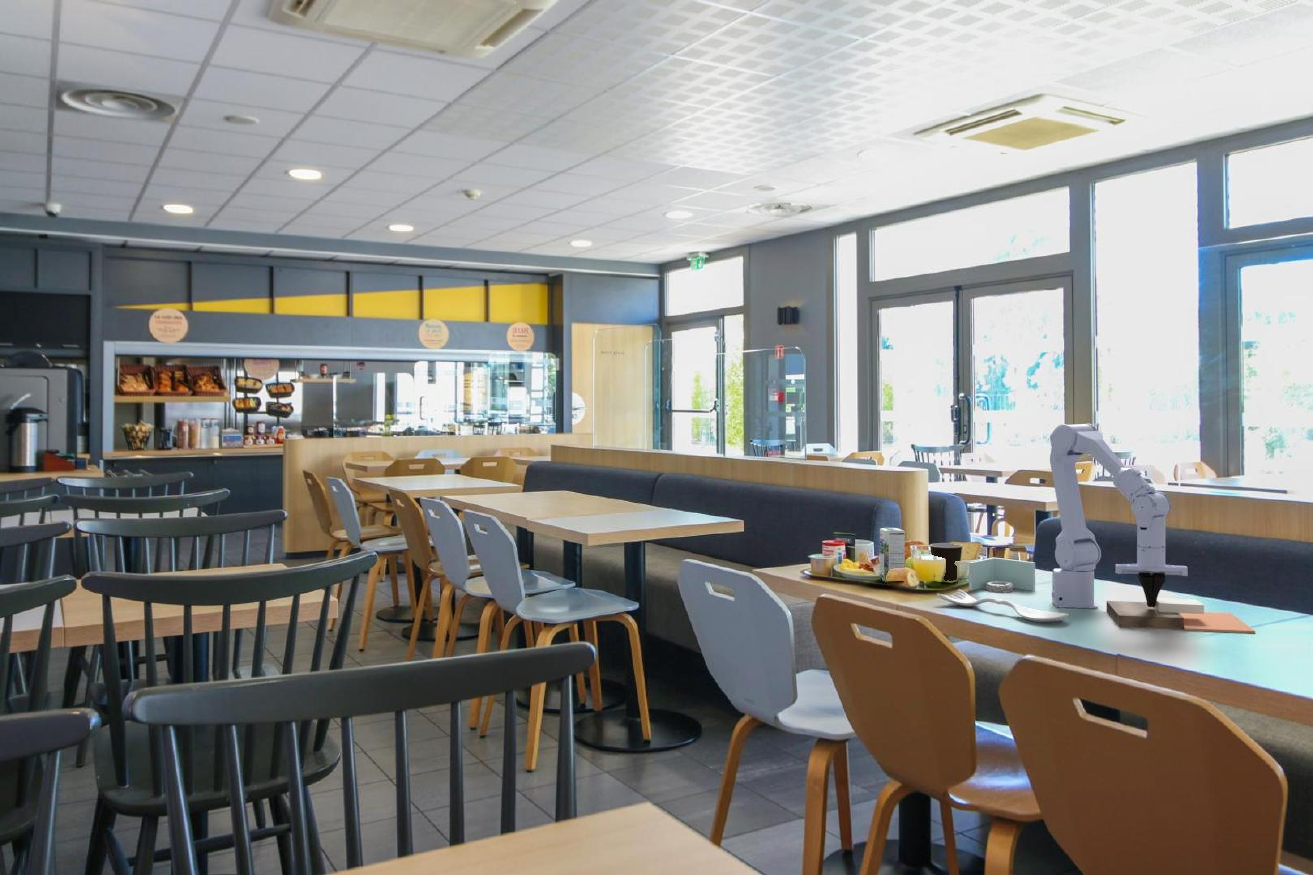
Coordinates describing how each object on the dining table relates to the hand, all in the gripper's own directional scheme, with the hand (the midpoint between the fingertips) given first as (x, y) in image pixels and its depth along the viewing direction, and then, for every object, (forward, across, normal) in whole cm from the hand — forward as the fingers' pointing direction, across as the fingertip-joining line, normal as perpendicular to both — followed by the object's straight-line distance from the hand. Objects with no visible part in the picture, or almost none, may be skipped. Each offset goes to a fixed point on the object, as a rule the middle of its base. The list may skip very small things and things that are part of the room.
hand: (1151, 606), depth 224 cm
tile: (+1, +6, 0) cm, 6 cm away
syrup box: (+3, -59, +39) cm, 70 cm away
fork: (+4, -32, +1) cm, 32 cm away
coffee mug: (+3, -44, +42) cm, 61 cm away
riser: (+3, -2, 0) cm, 4 cm away
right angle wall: (+4, -30, +30) cm, 43 cm away
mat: (+3, +12, 0) cm, 12 cm away
